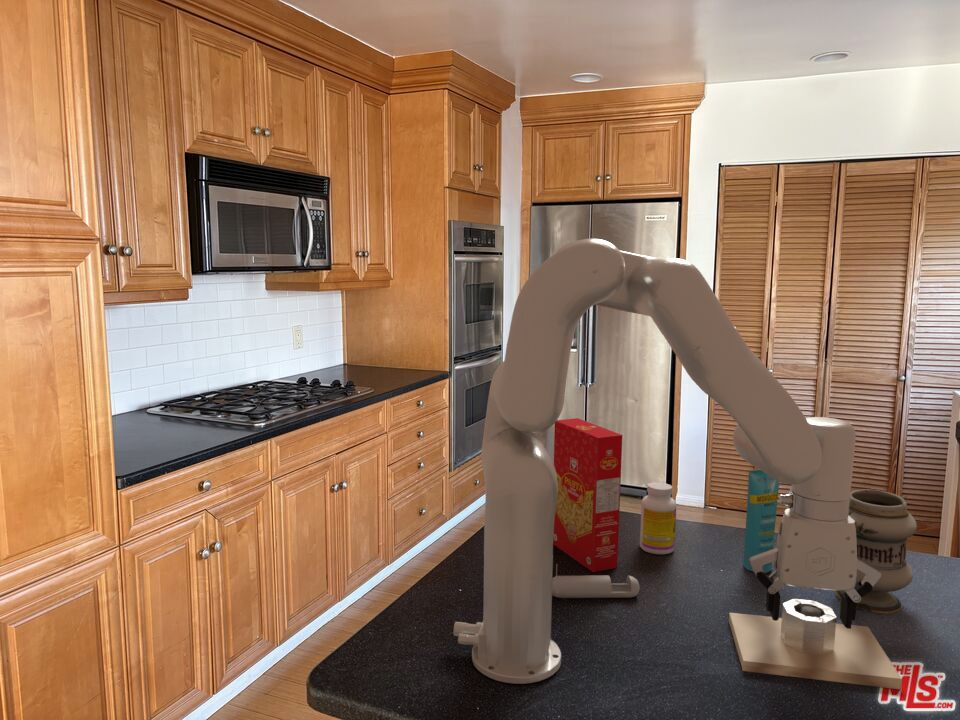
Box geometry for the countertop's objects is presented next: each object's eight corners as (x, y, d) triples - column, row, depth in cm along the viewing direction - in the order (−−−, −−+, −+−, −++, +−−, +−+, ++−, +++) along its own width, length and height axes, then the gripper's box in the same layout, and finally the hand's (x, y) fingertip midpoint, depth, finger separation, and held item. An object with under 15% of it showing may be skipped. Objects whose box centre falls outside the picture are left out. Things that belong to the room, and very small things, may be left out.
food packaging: (551, 542, 144) (554, 420, 140) (574, 538, 146) (577, 418, 143) (593, 572, 131) (597, 437, 127) (617, 567, 133) (622, 434, 129)
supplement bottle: (678, 556, 138) (681, 491, 136) (643, 555, 138) (646, 491, 136) (669, 542, 145) (672, 480, 143) (636, 542, 145) (639, 480, 143)
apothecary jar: (826, 606, 119) (835, 501, 116) (829, 578, 129) (837, 481, 127) (911, 624, 113) (922, 514, 111) (907, 593, 124) (917, 492, 121)
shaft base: (742, 670, 100) (745, 626, 99) (728, 621, 113) (731, 582, 112) (900, 689, 96) (905, 643, 95) (867, 636, 109) (870, 595, 109)
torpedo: (634, 589, 125) (636, 553, 124) (642, 602, 120) (643, 565, 119) (530, 590, 124) (531, 554, 123) (534, 603, 119) (535, 566, 118)
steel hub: (787, 652, 102) (789, 618, 101) (777, 628, 108) (780, 597, 108) (837, 657, 101) (840, 624, 100) (825, 633, 107) (827, 602, 106)
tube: (754, 577, 129) (761, 473, 127) (733, 567, 133) (739, 466, 131) (782, 568, 133) (789, 467, 130) (760, 559, 137) (766, 461, 134)
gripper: (758, 509, 100) (750, 625, 102) (895, 520, 96) (883, 640, 99) (749, 492, 107) (741, 601, 109) (876, 502, 103) (865, 614, 106)
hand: (809, 620), depth 104 cm, fingers open, 9 cm apart
